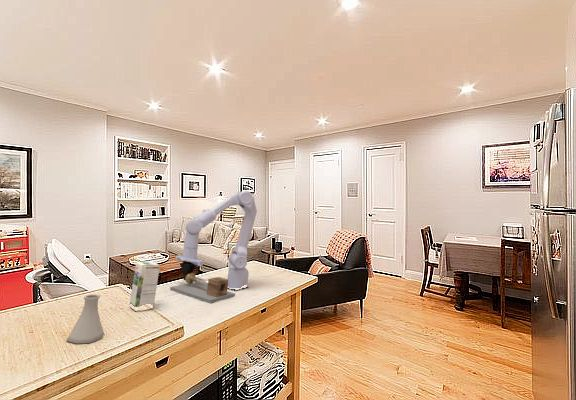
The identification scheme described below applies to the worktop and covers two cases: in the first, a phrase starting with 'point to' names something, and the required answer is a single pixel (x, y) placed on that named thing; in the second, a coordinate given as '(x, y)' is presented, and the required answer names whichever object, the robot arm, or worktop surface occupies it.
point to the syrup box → (144, 283)
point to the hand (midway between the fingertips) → (186, 280)
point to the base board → (199, 292)
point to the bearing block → (217, 287)
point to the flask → (88, 322)
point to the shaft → (195, 279)
